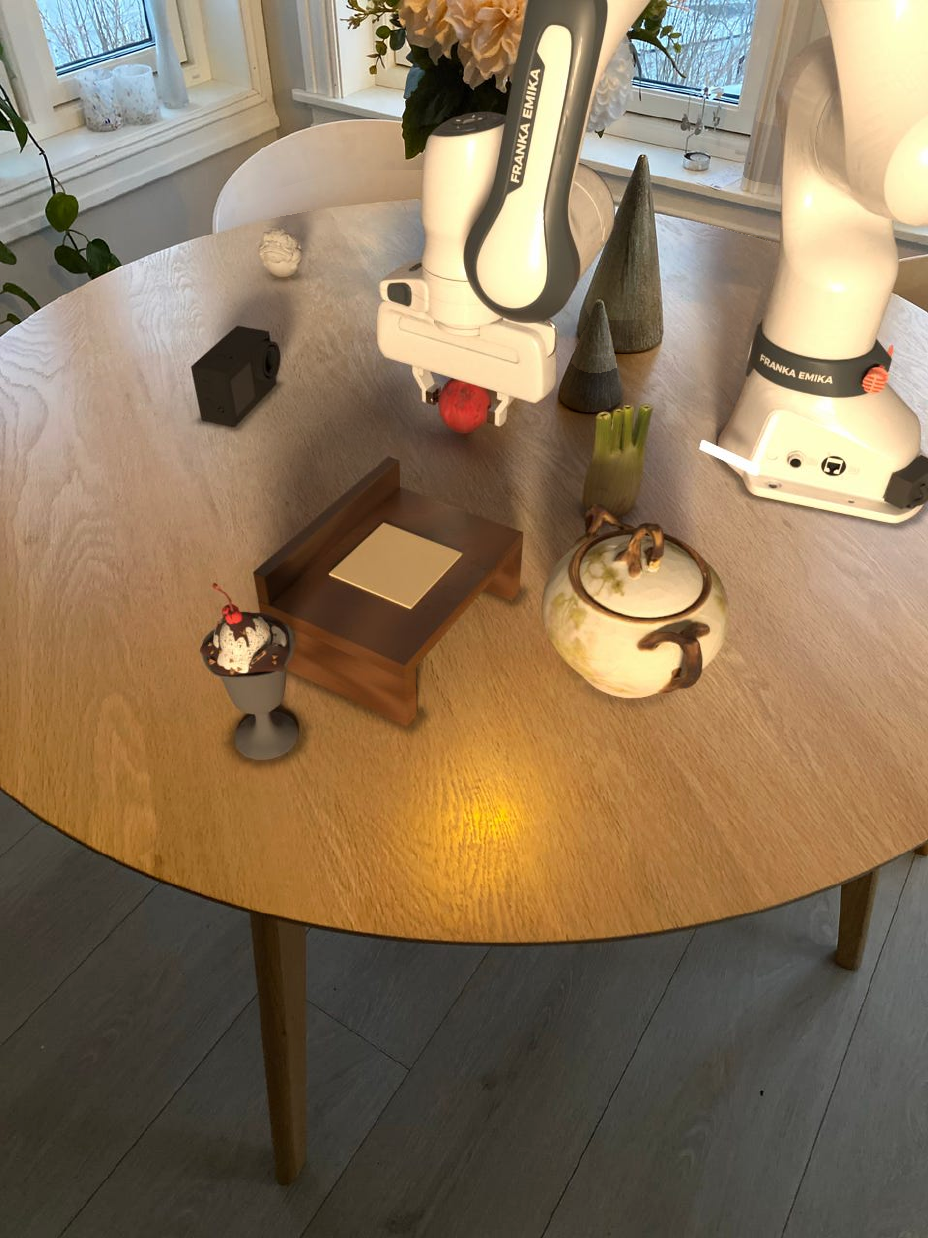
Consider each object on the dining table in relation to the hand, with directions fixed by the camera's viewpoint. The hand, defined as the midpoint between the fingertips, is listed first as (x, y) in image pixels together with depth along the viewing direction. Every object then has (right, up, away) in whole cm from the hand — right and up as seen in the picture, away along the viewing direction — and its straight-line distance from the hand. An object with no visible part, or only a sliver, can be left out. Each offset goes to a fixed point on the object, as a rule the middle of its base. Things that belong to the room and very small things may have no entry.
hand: (463, 411), depth 106 cm
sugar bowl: (+14, -27, -24) cm, 38 cm away
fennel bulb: (+15, -12, -8) cm, 21 cm away
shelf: (-6, -23, -21) cm, 32 cm away
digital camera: (-26, +2, +6) cm, 26 cm away
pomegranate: (0, -2, +2) cm, 3 cm away
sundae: (-16, -32, -30) cm, 47 cm away
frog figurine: (-26, +26, +32) cm, 48 cm away
